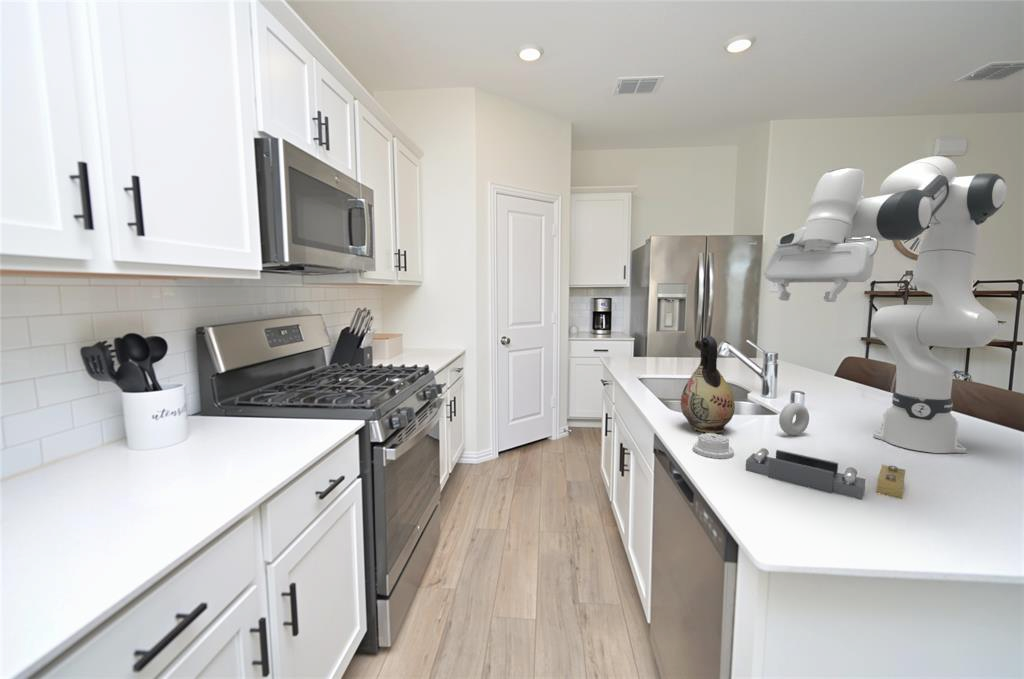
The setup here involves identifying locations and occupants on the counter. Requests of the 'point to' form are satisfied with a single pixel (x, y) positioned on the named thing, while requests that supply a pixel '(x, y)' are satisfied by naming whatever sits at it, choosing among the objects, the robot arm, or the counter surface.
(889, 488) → the gold block with knob
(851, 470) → the linear slide rail
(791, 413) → the donut
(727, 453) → the mechanical component
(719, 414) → the ceramic jug
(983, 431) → the counter surface
